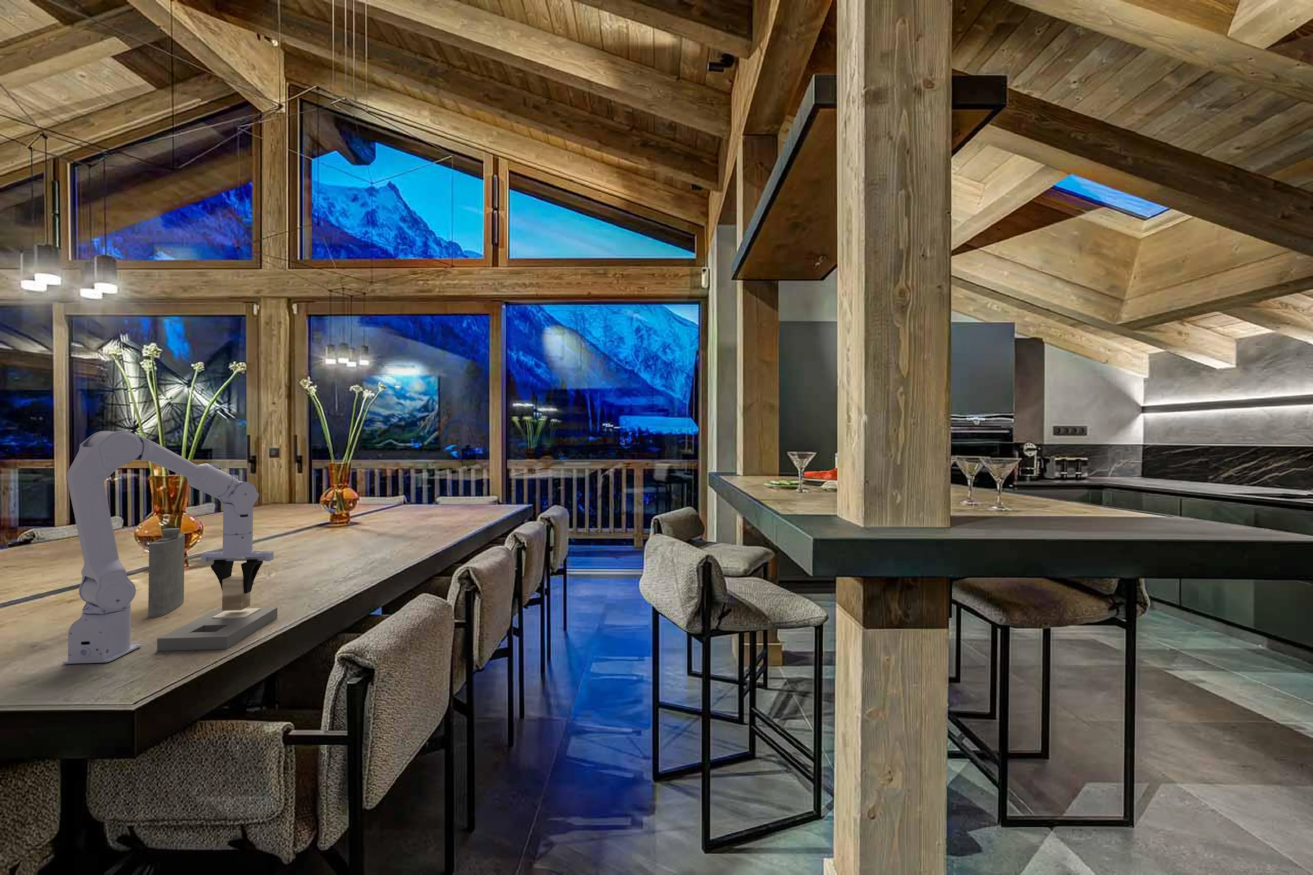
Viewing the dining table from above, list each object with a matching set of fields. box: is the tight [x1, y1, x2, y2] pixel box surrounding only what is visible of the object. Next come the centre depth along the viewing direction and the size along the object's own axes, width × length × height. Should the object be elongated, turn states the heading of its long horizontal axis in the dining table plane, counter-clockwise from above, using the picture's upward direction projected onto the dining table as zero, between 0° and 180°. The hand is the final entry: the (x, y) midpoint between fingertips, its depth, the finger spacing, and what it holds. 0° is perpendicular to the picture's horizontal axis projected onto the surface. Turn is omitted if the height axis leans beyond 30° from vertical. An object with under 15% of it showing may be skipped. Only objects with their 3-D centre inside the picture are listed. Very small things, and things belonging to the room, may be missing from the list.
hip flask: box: [147, 527, 186, 618], centre depth 156 cm, size 16×4×20 cm, turn 21°
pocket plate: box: [156, 606, 278, 652], centre depth 137 cm, size 22×13×3 cm, turn 8°
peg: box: [221, 575, 251, 611], centre depth 143 cm, size 4×4×7 cm
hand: (237, 592), depth 143 cm, fingers closed on peg, 4 cm apart
